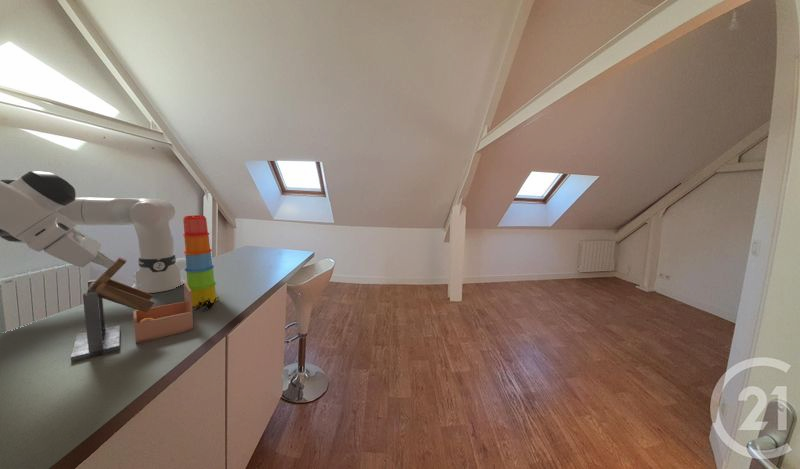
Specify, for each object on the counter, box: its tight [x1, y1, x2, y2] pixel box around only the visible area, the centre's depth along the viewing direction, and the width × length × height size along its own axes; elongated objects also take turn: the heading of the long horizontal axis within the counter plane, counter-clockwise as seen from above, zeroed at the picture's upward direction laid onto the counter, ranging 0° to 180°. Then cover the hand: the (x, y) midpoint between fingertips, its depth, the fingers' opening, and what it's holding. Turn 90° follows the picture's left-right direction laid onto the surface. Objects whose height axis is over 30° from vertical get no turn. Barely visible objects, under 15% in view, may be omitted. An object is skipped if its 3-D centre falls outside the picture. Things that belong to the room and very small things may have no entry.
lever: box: [86, 256, 155, 313], centre depth 78 cm, size 10×14×11 cm
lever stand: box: [70, 279, 121, 364], centre depth 74 cm, size 15×8×17 cm, turn 46°
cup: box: [132, 281, 194, 344], centre depth 84 cm, size 11×13×13 cm
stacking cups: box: [182, 214, 219, 308], centre depth 104 cm, size 10×10×35 cm
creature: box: [192, 295, 220, 313], centre depth 100 cm, size 8×5×8 cm
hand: (111, 265), depth 75 cm, fingers closed, pressing on lever
